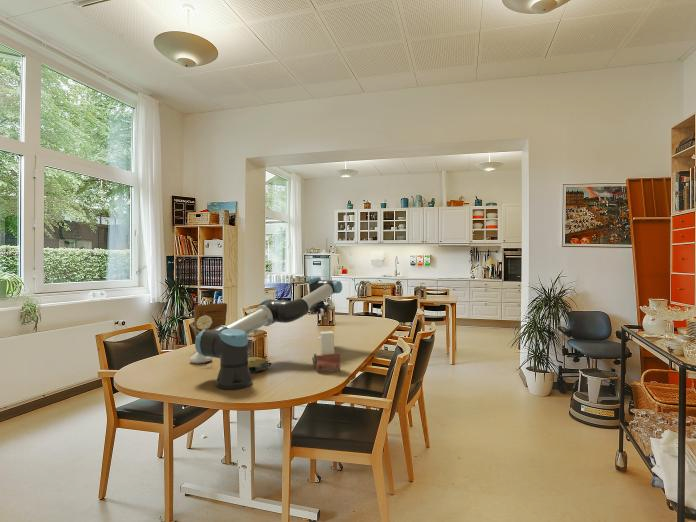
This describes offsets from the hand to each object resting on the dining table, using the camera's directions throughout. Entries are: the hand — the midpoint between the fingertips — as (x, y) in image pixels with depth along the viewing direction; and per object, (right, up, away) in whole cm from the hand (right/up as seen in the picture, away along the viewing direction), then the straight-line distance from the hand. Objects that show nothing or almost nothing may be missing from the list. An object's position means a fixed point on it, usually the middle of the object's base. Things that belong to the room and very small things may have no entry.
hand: (322, 313), depth 220 cm
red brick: (+2, -25, -13) cm, 28 cm away
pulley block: (-38, -26, -15) cm, 48 cm away
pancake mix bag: (-69, -26, +25) cm, 77 cm away
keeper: (+4, -23, -20) cm, 31 cm away
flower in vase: (-64, -26, -4) cm, 69 cm away
